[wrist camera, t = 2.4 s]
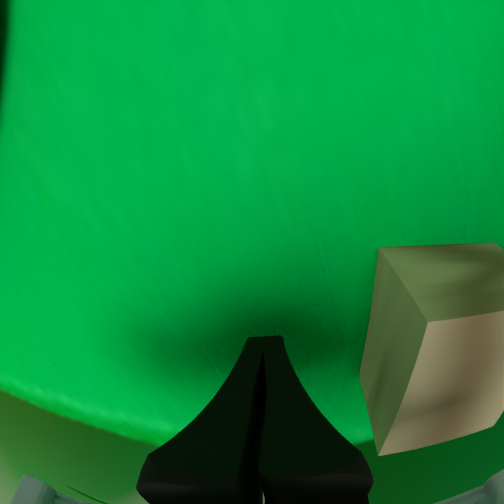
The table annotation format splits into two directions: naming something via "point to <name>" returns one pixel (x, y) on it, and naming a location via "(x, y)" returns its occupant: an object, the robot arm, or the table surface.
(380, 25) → the table surface
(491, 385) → the beech block
